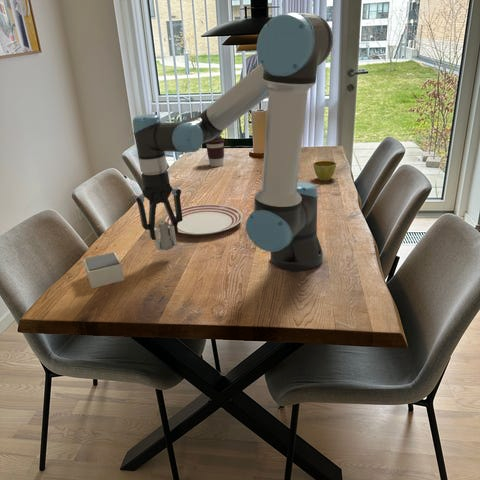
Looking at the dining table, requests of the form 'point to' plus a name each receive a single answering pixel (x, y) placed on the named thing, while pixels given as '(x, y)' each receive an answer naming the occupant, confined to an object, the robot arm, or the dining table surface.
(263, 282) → the dining table surface
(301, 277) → the dining table surface
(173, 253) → the dining table surface
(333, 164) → the flower pot
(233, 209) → the dinner plate
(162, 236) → the rook chess piece
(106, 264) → the stand
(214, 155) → the coffee cup
